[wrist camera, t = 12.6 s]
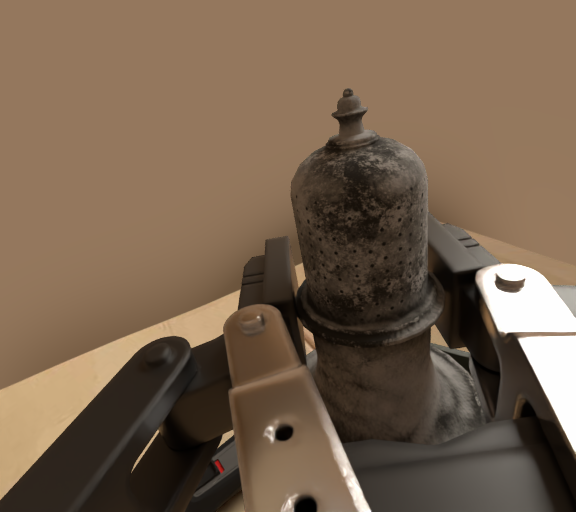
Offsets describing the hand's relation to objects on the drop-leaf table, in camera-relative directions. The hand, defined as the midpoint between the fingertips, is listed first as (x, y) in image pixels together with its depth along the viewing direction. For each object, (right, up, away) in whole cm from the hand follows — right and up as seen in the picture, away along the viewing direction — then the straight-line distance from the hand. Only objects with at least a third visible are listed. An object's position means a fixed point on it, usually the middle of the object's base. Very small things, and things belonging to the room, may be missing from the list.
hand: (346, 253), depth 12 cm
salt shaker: (+1, -8, +1) cm, 8 cm away
